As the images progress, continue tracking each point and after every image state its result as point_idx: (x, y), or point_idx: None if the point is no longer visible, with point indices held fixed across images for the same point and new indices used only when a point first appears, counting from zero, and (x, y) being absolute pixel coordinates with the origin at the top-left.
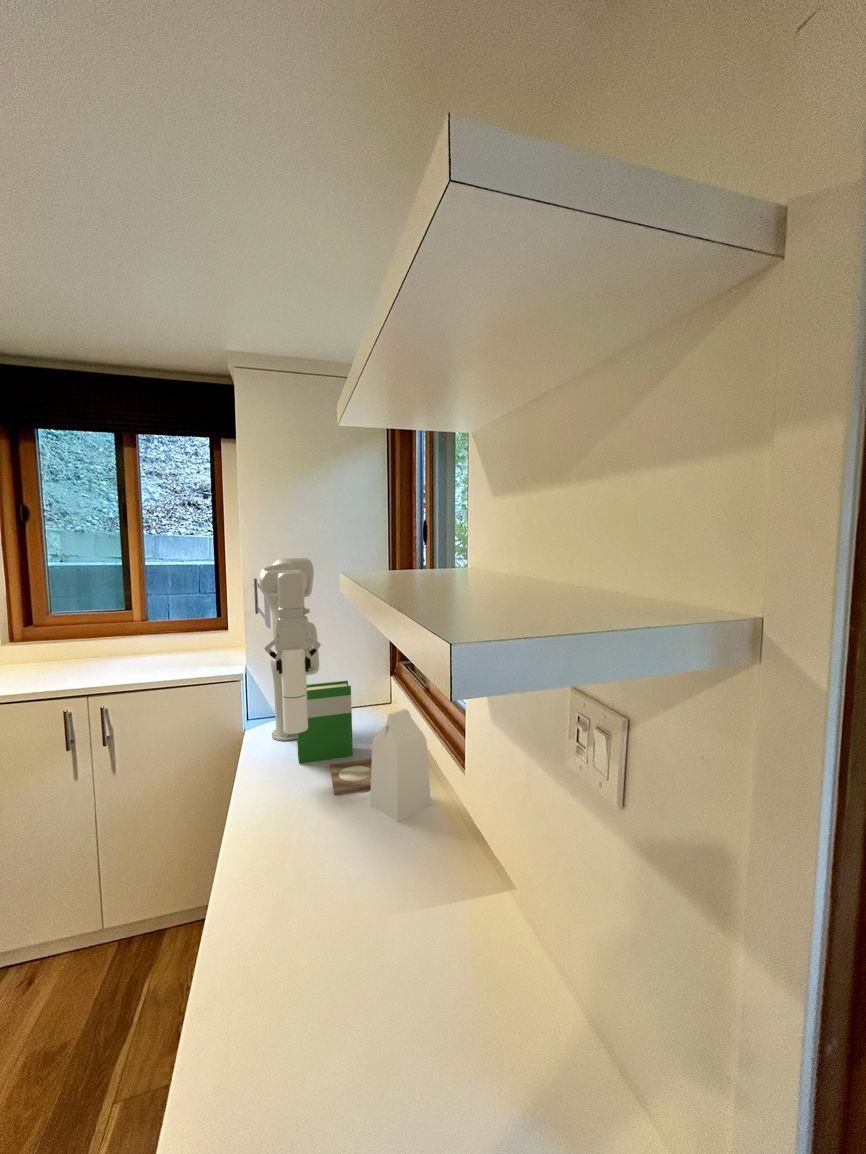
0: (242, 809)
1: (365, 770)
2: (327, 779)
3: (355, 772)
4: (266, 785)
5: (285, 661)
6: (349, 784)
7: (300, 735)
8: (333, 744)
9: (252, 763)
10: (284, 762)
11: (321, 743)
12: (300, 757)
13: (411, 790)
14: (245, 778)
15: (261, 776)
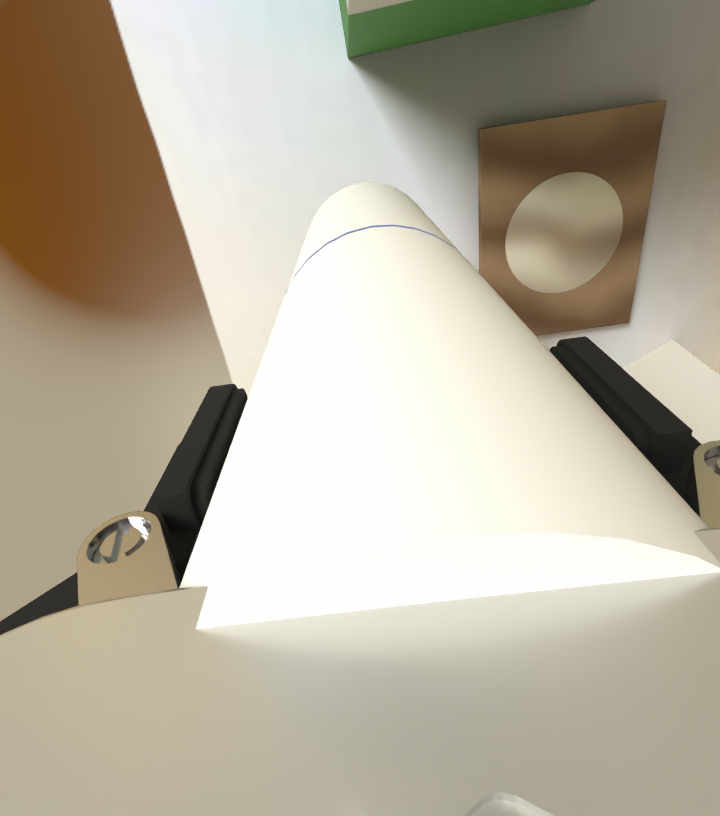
0: (239, 373)
1: (603, 221)
2: (463, 233)
3: (565, 231)
4: (263, 243)
5: None
6: (531, 312)
7: (362, 32)
8: (522, 9)
9: (130, 4)
10: (279, 23)
11: (464, 18)
12: (355, 52)
13: None
14: (166, 171)
15: (222, 164)
